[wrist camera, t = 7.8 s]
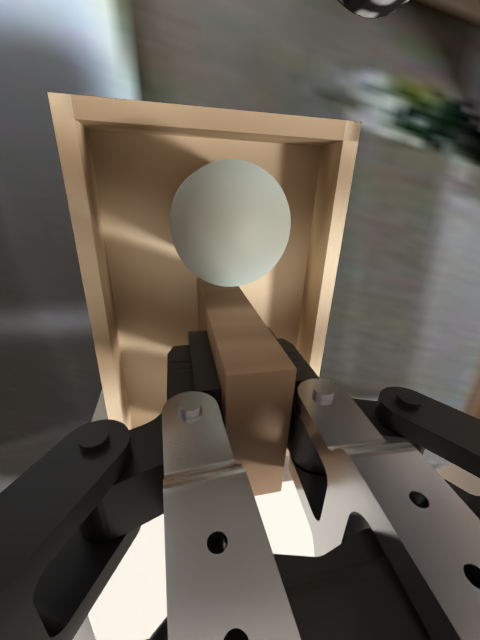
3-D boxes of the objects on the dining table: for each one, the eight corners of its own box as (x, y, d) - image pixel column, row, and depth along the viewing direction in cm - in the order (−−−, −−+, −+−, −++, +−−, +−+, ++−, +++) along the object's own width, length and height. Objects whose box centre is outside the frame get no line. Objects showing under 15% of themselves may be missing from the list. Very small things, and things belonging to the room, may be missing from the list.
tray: (73, 112, 11) (-172, -81, 3) (327, 133, 13) (564, 50, 5) (126, 444, 17) (91, 651, 9) (290, 422, 19) (369, 577, 11)
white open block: (124, 484, 32) (99, 651, 20) (106, 376, 26) (58, 522, 15) (265, 461, 36) (312, 593, 24) (275, 361, 30) (343, 471, 18)
